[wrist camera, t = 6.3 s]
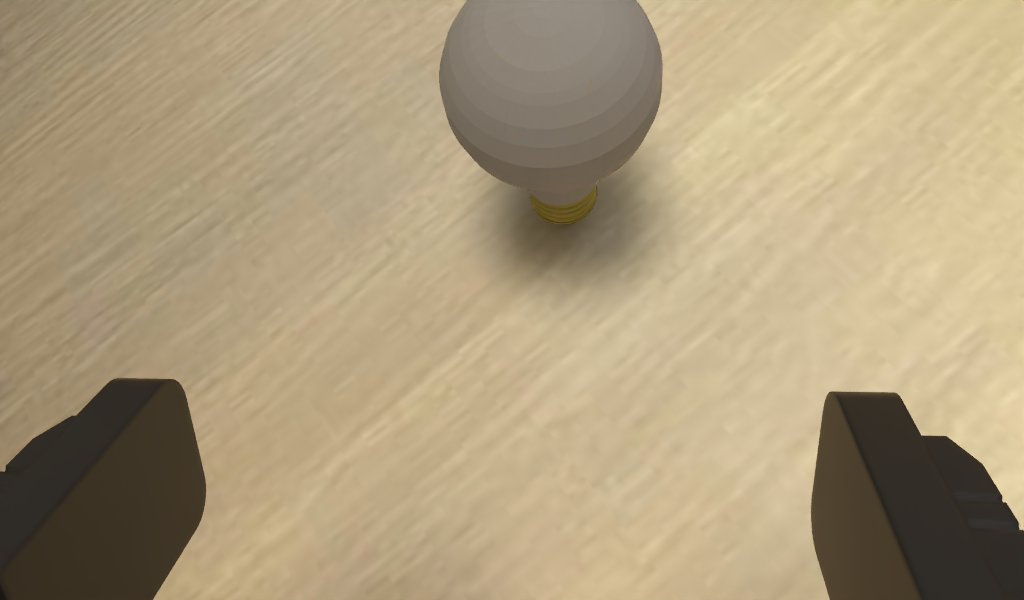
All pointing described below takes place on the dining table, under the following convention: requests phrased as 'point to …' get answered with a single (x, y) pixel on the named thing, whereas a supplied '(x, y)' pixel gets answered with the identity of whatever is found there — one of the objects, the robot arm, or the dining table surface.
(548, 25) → the light bulb
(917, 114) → the dining table surface
